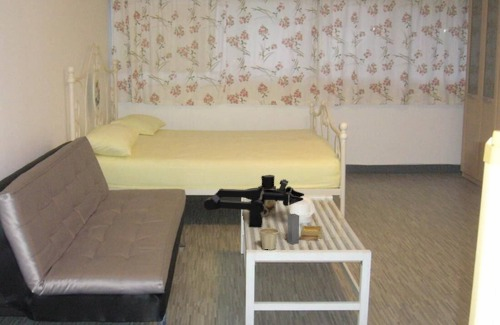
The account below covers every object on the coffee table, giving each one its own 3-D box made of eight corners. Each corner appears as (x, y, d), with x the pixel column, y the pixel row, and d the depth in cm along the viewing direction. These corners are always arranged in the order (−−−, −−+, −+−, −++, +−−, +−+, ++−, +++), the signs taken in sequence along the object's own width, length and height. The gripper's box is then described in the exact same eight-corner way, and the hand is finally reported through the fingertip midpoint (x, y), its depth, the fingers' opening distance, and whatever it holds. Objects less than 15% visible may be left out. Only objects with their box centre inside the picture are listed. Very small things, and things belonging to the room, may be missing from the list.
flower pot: (281, 246, 285) (281, 228, 284) (275, 252, 276) (275, 234, 275) (262, 244, 288) (262, 226, 287) (256, 250, 279) (256, 232, 278)
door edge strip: (285, 239, 295) (285, 237, 295) (285, 238, 297) (285, 236, 297) (317, 240, 293) (317, 238, 293) (317, 239, 295) (317, 237, 295)
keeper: (301, 238, 297) (301, 231, 297) (302, 232, 307) (302, 225, 306) (321, 238, 296) (322, 232, 296) (321, 232, 306) (321, 226, 305)
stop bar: (287, 242, 291) (287, 214, 288) (293, 241, 293) (294, 213, 290) (292, 244, 287) (292, 216, 285) (298, 243, 289) (299, 215, 287)
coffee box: (264, 216, 336) (264, 188, 333) (256, 214, 341) (256, 186, 338) (276, 213, 342) (276, 186, 339) (269, 211, 347) (269, 184, 344)
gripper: (272, 184, 303) (303, 185, 301) (276, 176, 322) (305, 178, 319) (271, 205, 306) (302, 207, 303) (275, 196, 324) (304, 198, 322)
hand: (303, 196), depth 312 cm, fingers open, 9 cm apart
